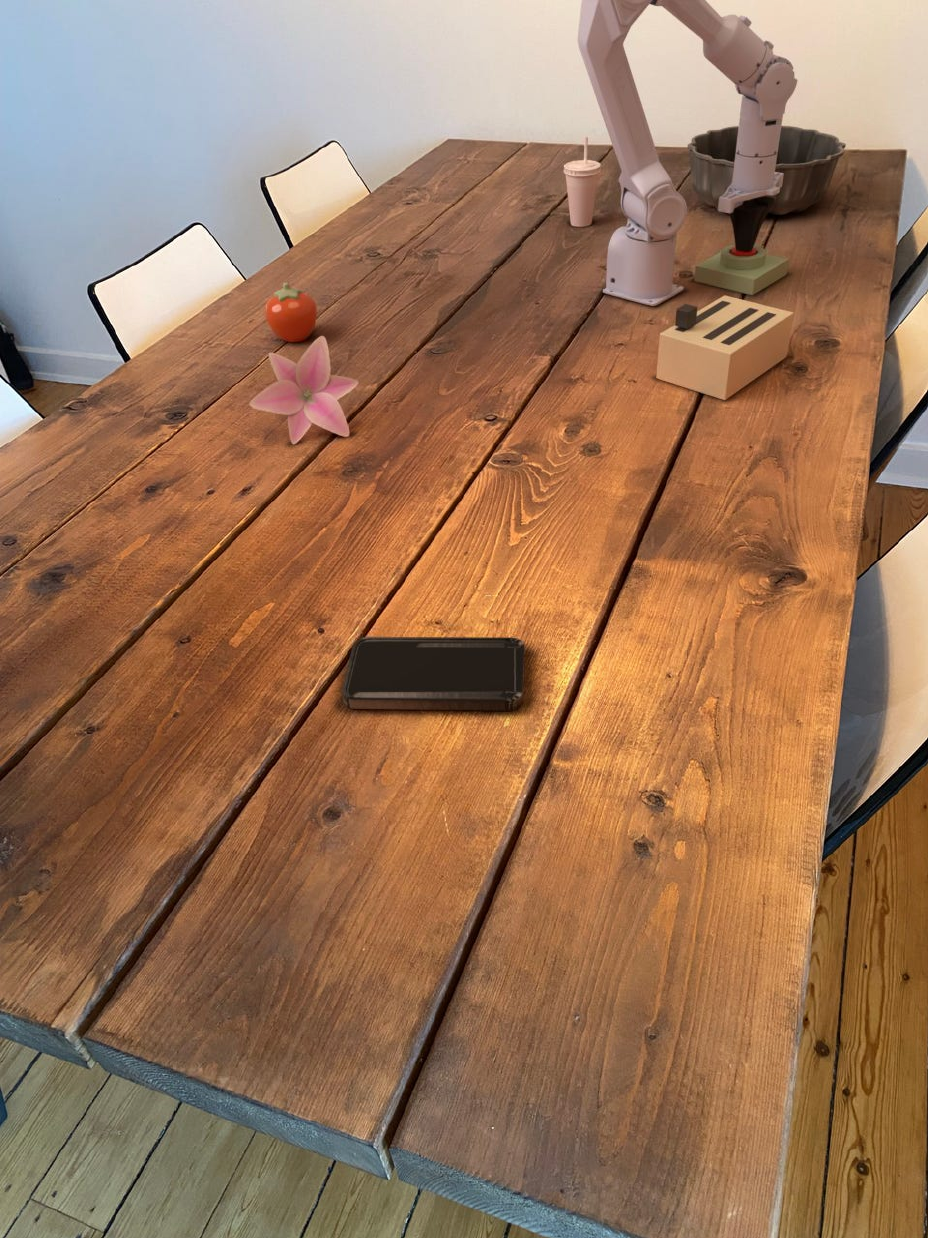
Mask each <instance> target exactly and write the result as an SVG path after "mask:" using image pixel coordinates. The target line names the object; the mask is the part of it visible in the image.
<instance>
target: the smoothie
mask: <svg viewBox="0 0 928 1238" xmlns="http://www.w3.org/2000/svg"><path fill="white" fill-rule="evenodd" d="M583 145H584V147H583V148H584V149H583V159H580V160H578V159H577V160H572V161H569V162H566V163H565V164H564V165H563V174H565V181H566V182H565V183H566V190H567V200H568V202H567V203H568V211H569V220H570V225H571V226H572V227H577V228H583V227H584V228H585V227H588V226H590V225H592V223H593V217H594V216H593V215H594V209H595V202H596V195H597V189H598V182H599V176H600V175H599V174H600V173H601V171H602V164H601V163H600V162H598V161H597V160H592V159H591V160H590V159H588V149H589V147H588V145H589V137H588V136H585V137H584V144H583Z"/></svg>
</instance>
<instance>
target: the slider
mask: <svg viewBox="0 0 928 1238" xmlns="http://www.w3.org/2000/svg"><path fill="white" fill-rule="evenodd" d="M698 307H699V306H696V305H692V304H688V303H684V304H683V305H681V306H679V307H677V308H676V310H675V321H674V322H675V323H674V325H675V326H678V327H682V328H685V329H688V328H690V327H691V326H693V325H695V324H696V318H697V311H698Z"/></svg>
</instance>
